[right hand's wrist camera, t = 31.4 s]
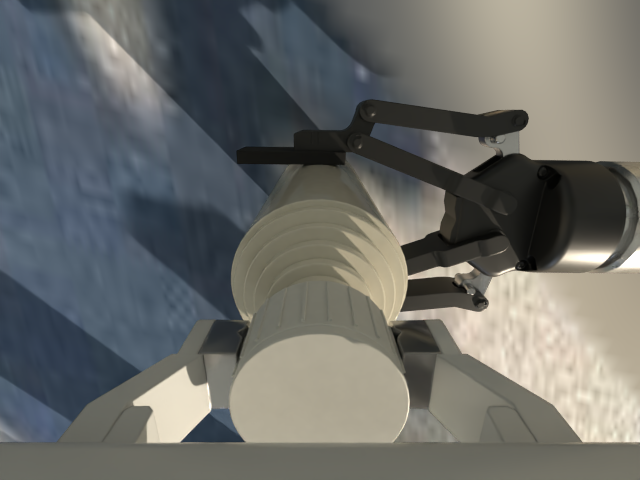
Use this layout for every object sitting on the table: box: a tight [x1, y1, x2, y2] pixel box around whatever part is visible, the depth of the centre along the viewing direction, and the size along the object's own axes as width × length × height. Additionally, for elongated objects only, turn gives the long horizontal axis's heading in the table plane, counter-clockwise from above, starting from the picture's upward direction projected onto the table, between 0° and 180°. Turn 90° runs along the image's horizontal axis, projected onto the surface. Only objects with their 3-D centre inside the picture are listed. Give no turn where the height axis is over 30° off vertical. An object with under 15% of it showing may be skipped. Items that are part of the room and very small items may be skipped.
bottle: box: [231, 160, 408, 326], centre depth 19 cm, size 7×7×22 cm
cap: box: [229, 281, 410, 443], centre depth 9 cm, size 4×4×2 cm
